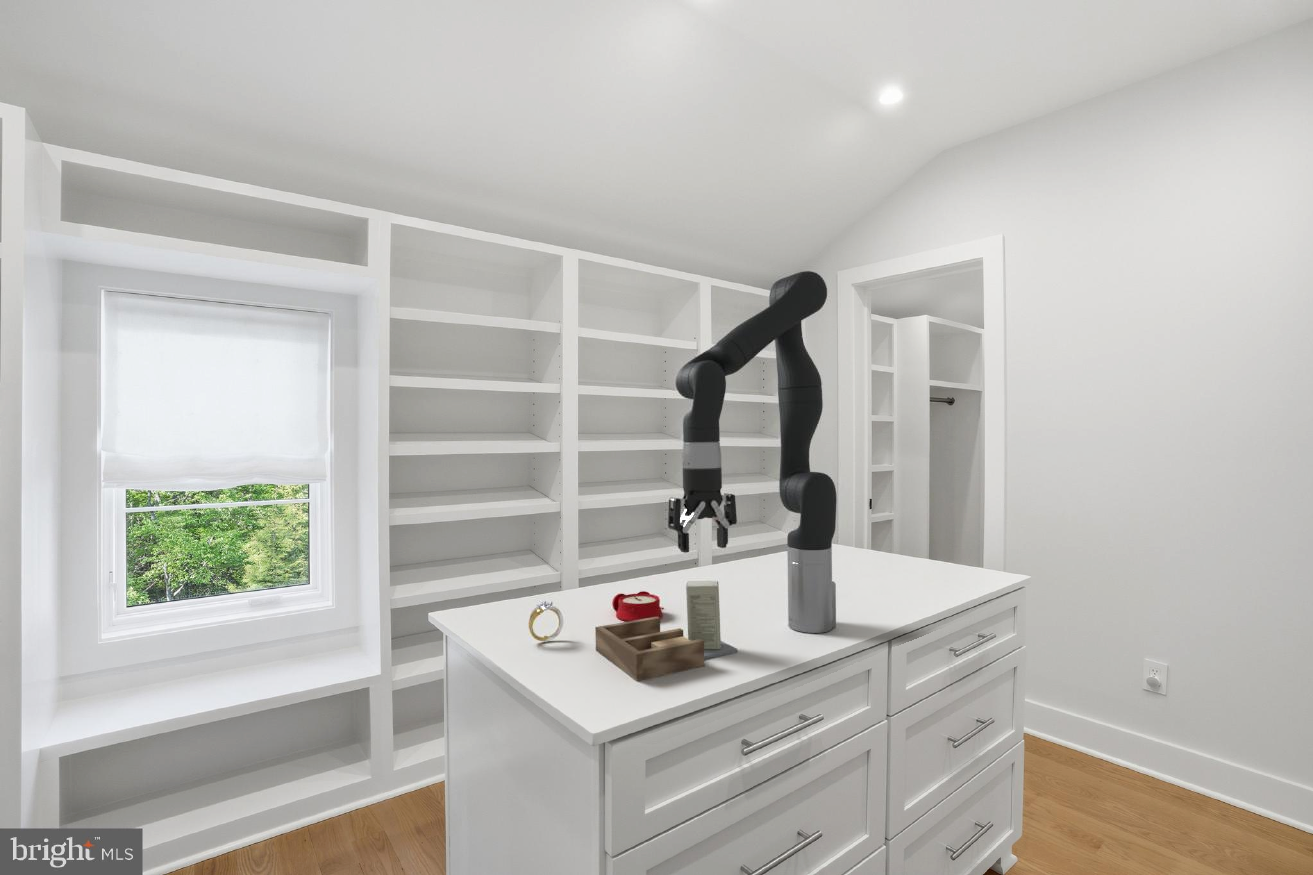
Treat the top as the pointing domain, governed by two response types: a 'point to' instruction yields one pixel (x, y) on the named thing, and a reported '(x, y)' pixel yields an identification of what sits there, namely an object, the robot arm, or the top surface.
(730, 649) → the slate mat
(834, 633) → the top surface
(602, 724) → the top surface
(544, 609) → the engagement ring
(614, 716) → the top surface
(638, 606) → the alarm clock
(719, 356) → the robot arm
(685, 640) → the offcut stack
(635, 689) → the top surface
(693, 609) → the skincare box
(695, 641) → the walnut rack
